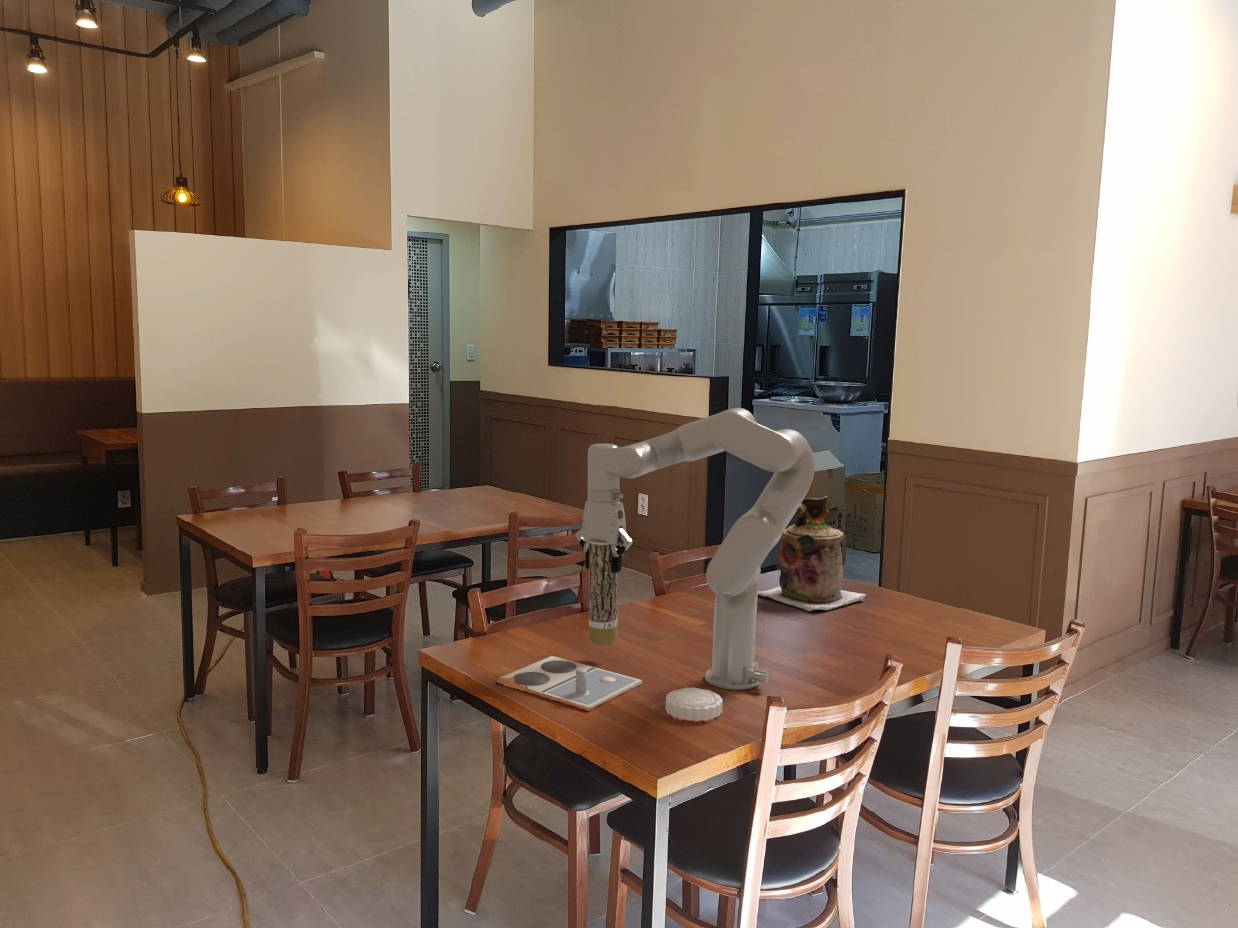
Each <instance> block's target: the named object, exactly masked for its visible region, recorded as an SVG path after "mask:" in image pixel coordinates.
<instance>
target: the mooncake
mask: <svg viewBox="0 0 1238 928" xmlns="http://www.w3.org/2000/svg"><path fill="white" fill-rule="evenodd" d="M665 710H666V711H667V712H666V711H665ZM665 710H664V711H665V712H666V714H667V713H668V714H671V715H672V716H674V717H678V718H679V719H686V720H695V721H700V720H708V719H713V718H715V717H717V716H720V714H721V713H722V714H723V698H722V697H721V695H719V694H718V693H716V692H714V691H711V690H709V689H703V688H698V687H695V686H694V687H684V688H680V689H675V690H672V691H670V692H668V693H667V694H666V696H665ZM668 714H667V715H668ZM720 717H721V716H720Z"/></svg>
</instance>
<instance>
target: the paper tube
mask: <svg viewBox="0 0 1238 928" xmlns="http://www.w3.org/2000/svg"><path fill="white" fill-rule="evenodd" d="M616 548H617V546H616ZM613 556H614V555H613V553H612V550H611V546H610V545H608V544H607V542H600V541H593V540H590V541H589V569H588V640H589V643H592V644H594V645H598V646H609V645H612V644H615V643H616V642H617V640H618V591H619V589H618V579H619V578H618V573H619V572H617V573H612V572H611V558H612V557H613Z"/></svg>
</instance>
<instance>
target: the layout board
mask: <svg viewBox="0 0 1238 928" xmlns="http://www.w3.org/2000/svg"><path fill="white" fill-rule="evenodd" d="M505 675H506V676H505ZM505 675H503V676H501V677H499V678H515V683H517V684H521V685H522V686H525V685H526V686H527V687H528V689H530V690H533V691H536V692H539V693H542V694H545V695H549V696H552V697H555V698H559V699H561V700H564V701H568V702H571V703H573V704H576V705H579V706H583V707H585V708H593V707H595V706H597V705H599V704H601V703H603V702H605V701H607V700H609V699H611V698H613V697H615V696H617V695H619V694H621V693H623V692H625V691H627V690H629V689H631V688H634V687H636V686H638V685H640V684H642V685H643V680H642V679H639V678H635V677H632V676H628V675H625V674H620V673H617V672H614V671H609V670H605V669H602V668H599V667H596V666H595V667H594V666H592V665H587V664H584V663H580V662H576V661H573V660H569V659H565V658H562V657H558V656H553V655H551V656H548V657H546V658H544V659H541V660H538V661H537V662H534V663H531V664H529V665H526V666H524V667H522V668H519V669H516V670H515V671H513V672H510V673H508V674H505ZM640 686H641V685H640ZM638 687H639V686H638ZM524 688H525V687H524ZM636 688H637V687H636ZM634 689H635V688H634Z"/></svg>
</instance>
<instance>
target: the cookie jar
mask: <svg viewBox="0 0 1238 928" xmlns="http://www.w3.org/2000/svg"><path fill="white" fill-rule="evenodd" d="M828 500H829V496H827V495H825V496H824V497H822V498H817V497H816V498H815V497H807V498H804V499H803V501H802V502H801V504H800V506H799V507H798V509H797V511H796V512H795V514H794V516H793V517H795V518H797V520H796V521H795V523H794V524H793V525H790V526H788V527H786V528H785V530H784V532H783V534H782V536H781V543H780V547H779V554H780V555H779V559H780V566H779V571H780V575H779V578H778V579H779V582H778V584H779V586H777V587H774V588H772V589H768V590H762V591H760V590H758V596H761V597H765V598H771V599H772V600H774V601H777V602H780V603H782V604H786V605H789V606H792V607H796V608H799V609H802V610H805V611H807V612H812V611H815V610H816V611H817V610H821V611H829V610H832V609H836V608H839V607H842V606H846V605H849V604H852V603H856V602H861V601H862V602H863V600H864V598H865V597H866V594H865V593H858V592H854V591H849V590H848V591H847V590H841V587H842V583H843V576H844V567H843V566H844V565H843V554H842V548H841V543H842V540H843V539H844V537H845V534H844V532H842V531H841V530H839V529H836V528H832V527H831V526H829V524H828V523H826V522H825V520H826V519H827V517H828V514H829V513H830V511H829V510H828V506H829V505H828Z"/></svg>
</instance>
